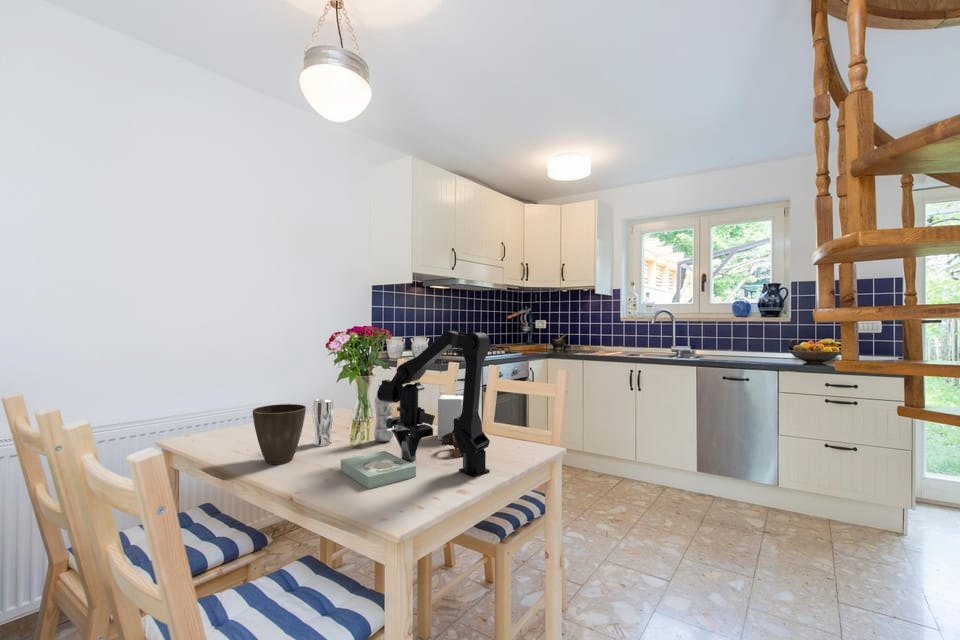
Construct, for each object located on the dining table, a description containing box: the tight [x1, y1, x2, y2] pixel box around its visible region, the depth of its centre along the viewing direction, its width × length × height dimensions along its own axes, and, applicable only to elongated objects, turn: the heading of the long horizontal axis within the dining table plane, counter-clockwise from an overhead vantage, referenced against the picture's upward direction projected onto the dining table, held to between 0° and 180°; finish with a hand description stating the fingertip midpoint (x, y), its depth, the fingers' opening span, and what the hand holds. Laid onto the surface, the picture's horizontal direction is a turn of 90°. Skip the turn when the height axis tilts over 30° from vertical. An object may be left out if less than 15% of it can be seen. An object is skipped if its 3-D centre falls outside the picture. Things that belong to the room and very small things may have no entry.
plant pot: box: [251, 403, 307, 465], centre depth 134 cm, size 15×15×16 cm
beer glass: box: [312, 398, 335, 447], centre depth 153 cm, size 7×7×15 cm
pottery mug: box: [441, 432, 463, 458], centre depth 144 cm, size 12×10×8 cm
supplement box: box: [437, 394, 463, 441], centre depth 162 cm, size 9×9×15 cm
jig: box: [340, 450, 417, 490], centre depth 123 cm, size 18×14×3 cm
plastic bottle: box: [373, 384, 394, 443], centre depth 156 cm, size 6×7×20 cm
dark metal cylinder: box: [400, 439, 417, 463], centre depth 135 cm, size 4×4×6 cm
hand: (408, 454), depth 135 cm, fingers closed on dark metal cylinder, 4 cm apart
